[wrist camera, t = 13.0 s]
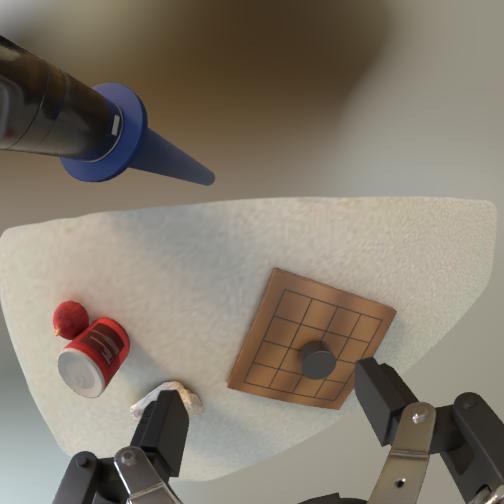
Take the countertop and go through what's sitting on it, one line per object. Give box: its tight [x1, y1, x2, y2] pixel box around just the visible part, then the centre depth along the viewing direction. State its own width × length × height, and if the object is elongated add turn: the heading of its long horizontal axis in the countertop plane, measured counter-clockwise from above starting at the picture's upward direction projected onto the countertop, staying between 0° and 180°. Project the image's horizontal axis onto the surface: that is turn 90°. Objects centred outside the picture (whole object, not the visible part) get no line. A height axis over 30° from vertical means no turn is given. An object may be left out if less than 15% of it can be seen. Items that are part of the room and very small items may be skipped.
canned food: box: [57, 318, 130, 398], centre depth 33 cm, size 8×8×11 cm
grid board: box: [227, 268, 397, 410], centre depth 38 cm, size 20×20×2 cm
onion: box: [53, 301, 89, 340], centre depth 33 cm, size 6×6×8 cm
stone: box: [130, 381, 204, 422], centre depth 37 cm, size 8×12×10 cm
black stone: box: [298, 341, 336, 380], centre depth 36 cm, size 5×5×3 cm
